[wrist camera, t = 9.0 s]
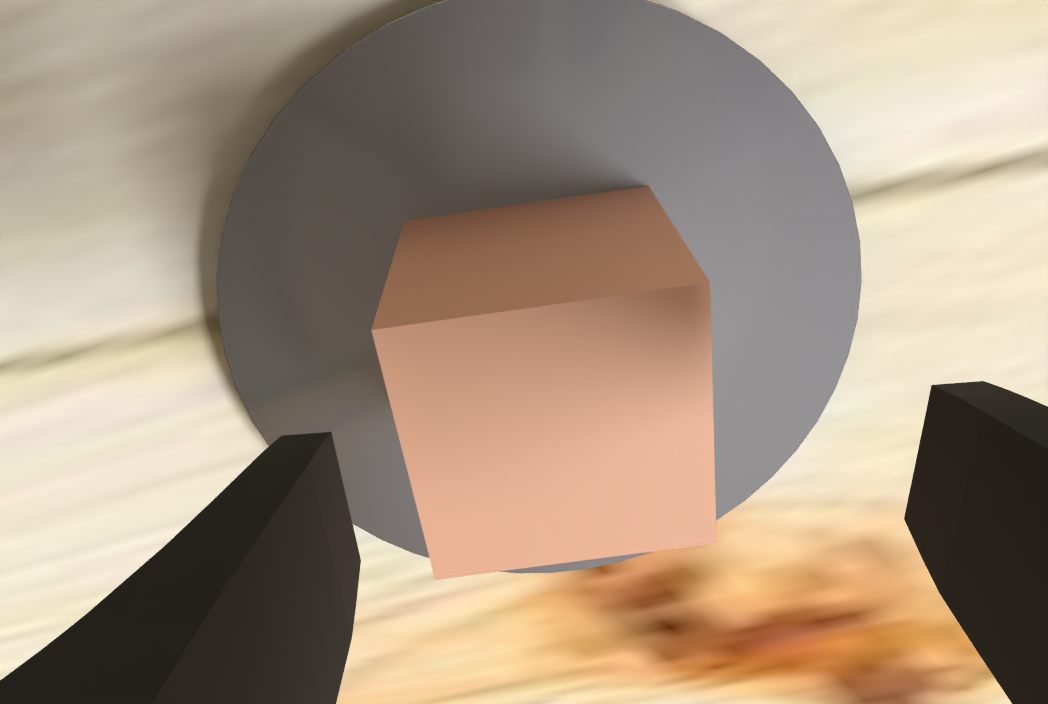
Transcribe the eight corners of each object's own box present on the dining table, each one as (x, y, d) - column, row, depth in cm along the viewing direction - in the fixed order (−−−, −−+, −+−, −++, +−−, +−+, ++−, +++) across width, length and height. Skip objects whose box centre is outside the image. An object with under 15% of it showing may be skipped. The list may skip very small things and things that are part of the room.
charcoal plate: (899, -34, 15) (919, -33, 14) (804, 536, 21) (815, 557, 21) (154, 2, 15) (136, 5, 14) (291, 566, 21) (284, 588, 20)
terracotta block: (648, 185, 16) (710, 282, 11) (661, 395, 18) (716, 542, 14) (404, 220, 16) (371, 330, 12) (448, 424, 18) (435, 579, 14)
